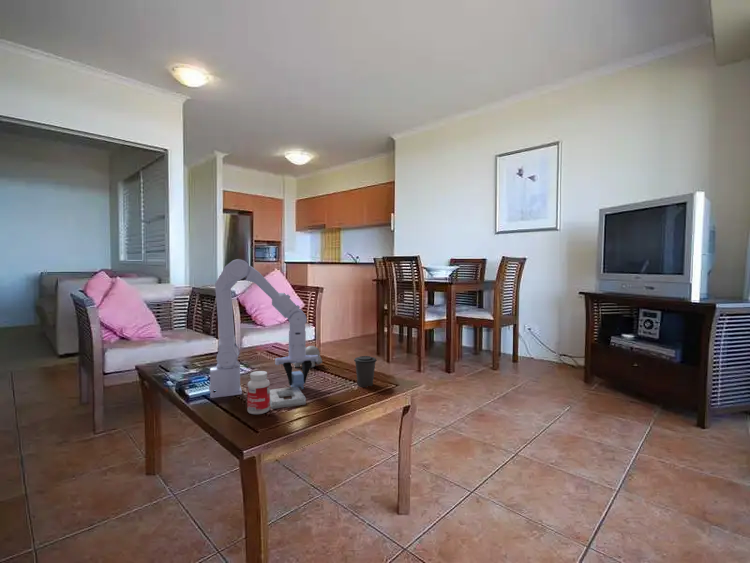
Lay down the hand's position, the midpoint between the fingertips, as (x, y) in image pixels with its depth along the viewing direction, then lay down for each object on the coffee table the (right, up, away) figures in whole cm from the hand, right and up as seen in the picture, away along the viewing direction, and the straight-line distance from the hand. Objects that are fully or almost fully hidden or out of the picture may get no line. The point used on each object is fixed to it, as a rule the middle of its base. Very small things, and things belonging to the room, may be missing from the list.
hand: (297, 383), depth 130 cm
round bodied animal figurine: (-1, -1, +28) cm, 28 cm away
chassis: (-1, -2, -12) cm, 13 cm away
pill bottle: (-7, -2, -21) cm, 22 cm away
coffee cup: (+23, -2, +4) cm, 24 cm away
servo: (0, -1, 0) cm, 1 cm away
